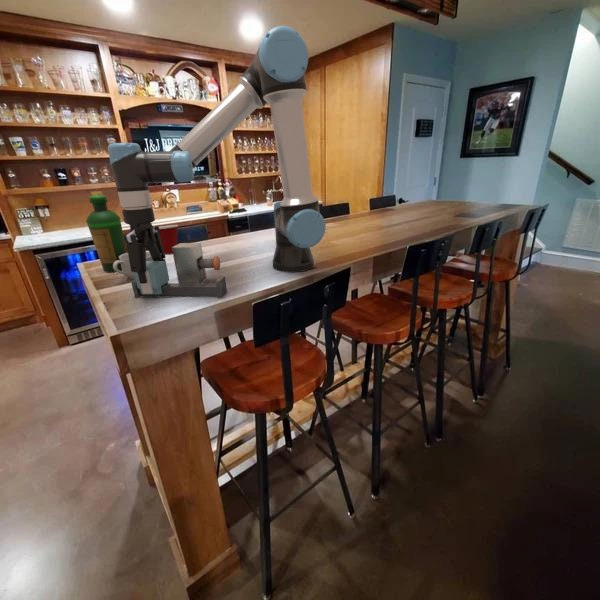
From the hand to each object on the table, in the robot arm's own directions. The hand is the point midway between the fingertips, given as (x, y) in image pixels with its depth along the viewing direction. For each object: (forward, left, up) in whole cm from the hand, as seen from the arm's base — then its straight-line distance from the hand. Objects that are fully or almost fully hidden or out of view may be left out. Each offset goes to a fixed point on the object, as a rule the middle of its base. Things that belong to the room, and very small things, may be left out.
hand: (155, 288), depth 94 cm
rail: (-8, 0, -2) cm, 8 cm away
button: (-13, -12, +2) cm, 18 cm away
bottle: (+29, -26, -2) cm, 39 cm away
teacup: (+15, -16, -2) cm, 22 cm away
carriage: (0, 0, -1) cm, 1 cm away
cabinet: (-7, -12, -2) cm, 14 cm away
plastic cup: (+20, -51, -2) cm, 54 cm away
